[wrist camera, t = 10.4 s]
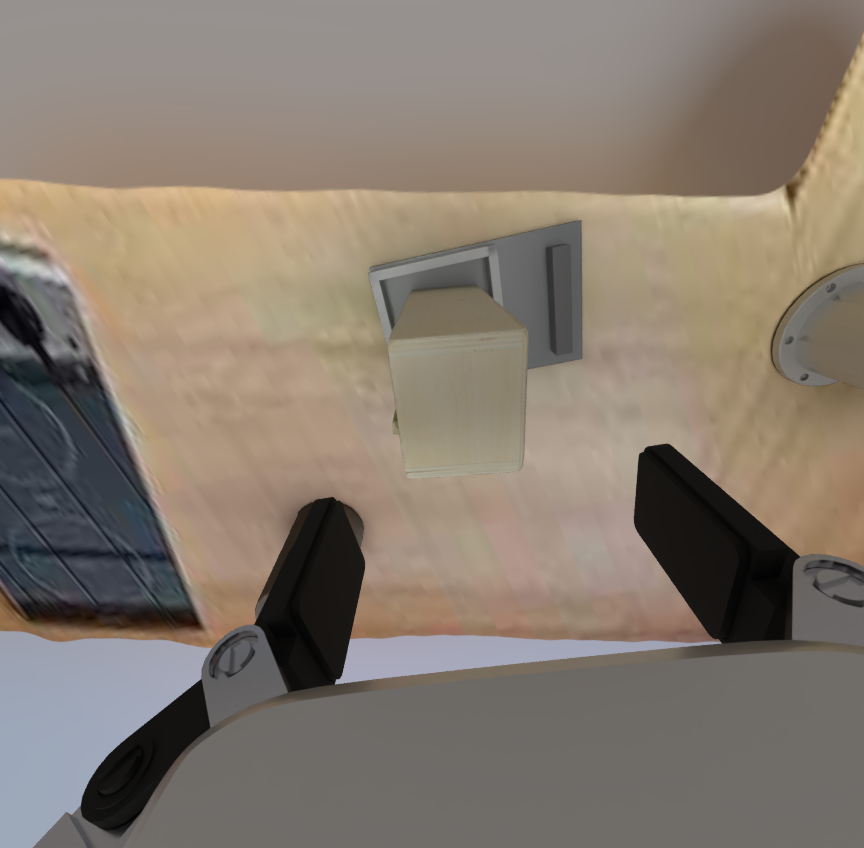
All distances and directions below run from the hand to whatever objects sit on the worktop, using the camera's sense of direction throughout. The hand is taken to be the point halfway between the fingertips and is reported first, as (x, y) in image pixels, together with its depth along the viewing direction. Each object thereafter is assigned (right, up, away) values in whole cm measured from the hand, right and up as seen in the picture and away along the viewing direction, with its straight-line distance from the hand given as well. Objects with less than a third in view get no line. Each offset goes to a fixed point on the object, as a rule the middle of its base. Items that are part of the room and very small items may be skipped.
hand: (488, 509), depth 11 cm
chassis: (+3, +14, +26) cm, 30 cm away
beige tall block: (-1, +13, +25) cm, 28 cm away
